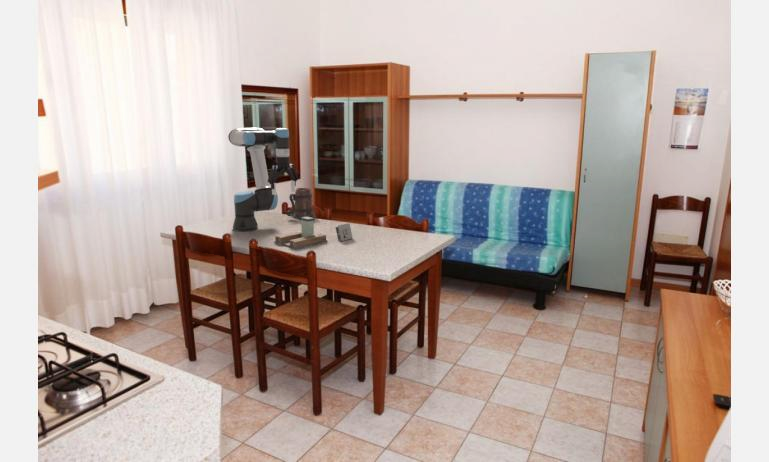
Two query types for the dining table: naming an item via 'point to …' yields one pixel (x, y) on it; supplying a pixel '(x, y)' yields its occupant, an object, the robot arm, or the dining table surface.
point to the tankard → (301, 204)
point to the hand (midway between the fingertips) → (283, 193)
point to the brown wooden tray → (299, 240)
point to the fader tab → (307, 226)
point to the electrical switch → (344, 232)
